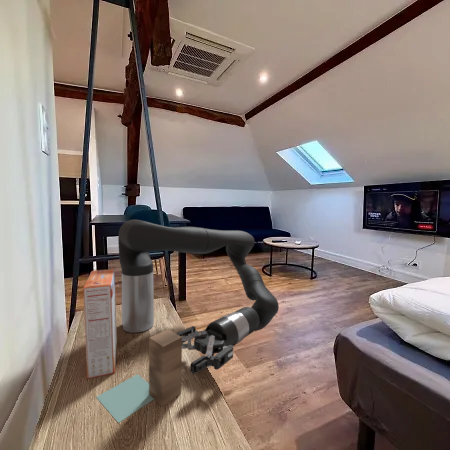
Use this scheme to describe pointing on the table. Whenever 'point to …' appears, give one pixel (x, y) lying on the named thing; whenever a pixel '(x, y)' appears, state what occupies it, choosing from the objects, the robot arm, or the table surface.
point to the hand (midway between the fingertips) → (177, 360)
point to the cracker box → (100, 323)
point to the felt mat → (126, 397)
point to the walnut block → (165, 366)
